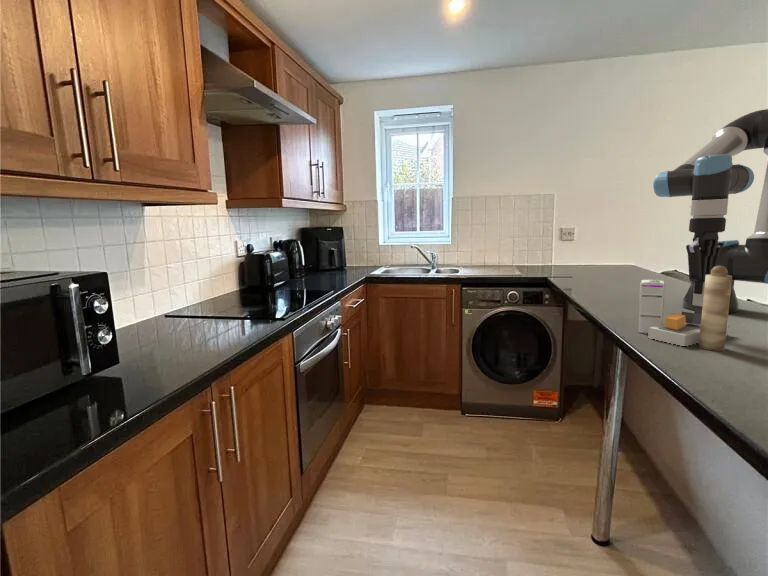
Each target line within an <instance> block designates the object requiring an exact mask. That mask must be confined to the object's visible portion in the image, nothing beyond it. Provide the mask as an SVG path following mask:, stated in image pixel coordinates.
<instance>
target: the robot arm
mask: <svg viewBox="0 0 768 576" xmlns="http://www.w3.org/2000/svg"><path fill="white" fill-rule="evenodd" d="M755 149H756V150H757V149H763V150H762V152H763V153H764V154H765V155H767V156H768V108H765V109H759V110H755V111H751V112H750V113H747V114H744V115H742V116H740V117H739V118H736V119H734V120H732V121H731V122H729V123H728V124H726V125H725V126H723V127H722V128H720V129H719V130H718V131H716V133H714V135H713V136H712V138H711V140H710V141H708V143H706V144H705V145H703V147H701V148H700V149H699V150H698V151H695V153H694V154H692V155H691V156H690V157H689V158H687V159H686V160H685V161H684V162H682V163H681V164H680V165H678V166H677V167H676V168H675V169H673V170H666V171H662V172H658V173H657V174H656V176H655V177H654V179H653V183H652V187H653V193H654V194H655V195H656V196H657V197H660V198H675V197H676V198H678V197H690V196H691V204H690V206H689V207H690V215H689V216H691V217H692V218H690V219H689V225H688V226H689V227H688V231H689V232H690V233H694V234H693V238H692V243H691V244H687V245H686V246H685V249H686V252H687V260H688V261H687V262H688V263H687V264H688V278H689V281H690V285H689V287H688V290H687V291H686V293H685V296H684V297H683V299H682V308H685V309H688V310H691V311H695V309H700V310H702V307H703V297H704V286H705V276H706V275H707V274H711V269H712V268H713V267H715V266H724V267H725V268H726V269H727V271H728V274H727V275H730V276H732V284H731V293H730V302H729V311H728V314H731V313H736V312H739V307H740V306H739V301H738V298H737V293H736V291H735V281H739V282H750V283H758V284H759V283H760V284H766V285H768V162H767V164H766V168H765V169H766V170H765V175H764V180H763V185H762V190H761V194H760V200H759V206H758V210H757V215H756V221H755V225H754V226H755V227H754V231H753V233H752V234H751V235H749V236H748V237H746V238H745V243H744V244H740V242H739V241H740V240H738V239H735V240H734V239H733V240H732V239H730V240H721V241H720V240H719V238H720V237H719V233H724V232H725V231H726V224H727V219H726V217H725V216H726V215H727V214H728V206H729V205H728V204H729V195H735V194H740V193H742V192H745V191H747V190H748V189H749V188H750V187H752V185H753V183H754V180H755V173H754V171H753V170H752V168H751V167H749V166H746V165H743V164H734V163H733V157H734V156H737V155H739V154H740V153H742V152H743V151H748V150H755Z"/></svg>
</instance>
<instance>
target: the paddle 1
mask: <svg viewBox="0 0 768 576" xmlns="http://www.w3.org/2000/svg"><path fill="white" fill-rule="evenodd" d="M664 324H665V328H670V329H674V330H678V329H680V328H682V327H684V326H686V319H685V315H681V314H680V313H671V314H669V315H668V316H665V317H664Z"/></svg>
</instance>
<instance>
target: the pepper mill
mask: <svg viewBox="0 0 768 576" xmlns="http://www.w3.org/2000/svg"><path fill="white" fill-rule="evenodd" d="M727 274H728V271H727V269H726V268H725V267H724V266H715V267H713V268H712V269H711V274H707V275H706V276H705V286H704V297H703V307H702V317H701V327H700V337H699V343H698V348H700V347H701V348H700V349H702V348H704V349H703V350H706V349H707V350H706V351H711V350H713V352H714V351H715V352H723V351H725V348H726V337H727V336H726V330H727V324H728V320H729V313H728V311H729V302H730V293H731V284H732V276H730V275H727ZM722 350H723V351H722Z"/></svg>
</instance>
